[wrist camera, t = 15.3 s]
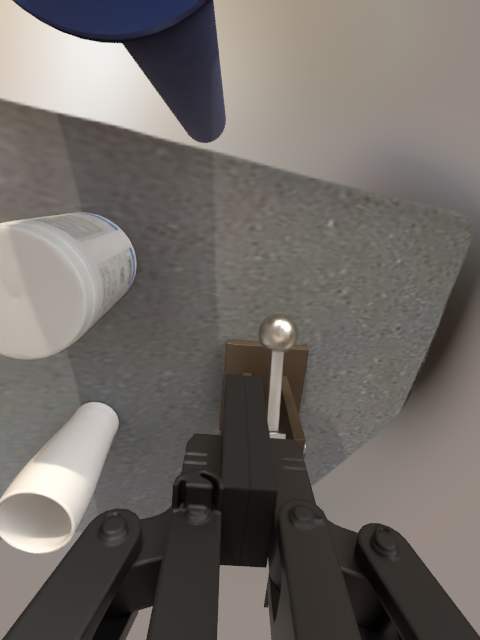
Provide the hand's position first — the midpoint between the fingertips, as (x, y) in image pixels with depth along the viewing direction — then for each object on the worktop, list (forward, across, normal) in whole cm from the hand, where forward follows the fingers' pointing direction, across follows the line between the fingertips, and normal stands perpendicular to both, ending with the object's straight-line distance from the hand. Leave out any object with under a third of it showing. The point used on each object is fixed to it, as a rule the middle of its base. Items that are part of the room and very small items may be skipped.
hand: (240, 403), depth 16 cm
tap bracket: (+24, +4, -12) cm, 27 cm away
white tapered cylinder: (+25, -15, -18) cm, 34 cm away
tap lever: (+17, +4, -8) cm, 19 cm away
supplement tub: (+25, -15, +1) cm, 29 cm away
